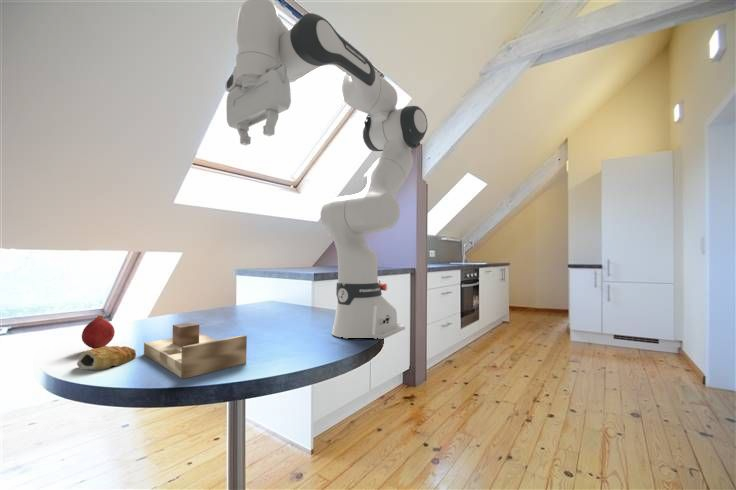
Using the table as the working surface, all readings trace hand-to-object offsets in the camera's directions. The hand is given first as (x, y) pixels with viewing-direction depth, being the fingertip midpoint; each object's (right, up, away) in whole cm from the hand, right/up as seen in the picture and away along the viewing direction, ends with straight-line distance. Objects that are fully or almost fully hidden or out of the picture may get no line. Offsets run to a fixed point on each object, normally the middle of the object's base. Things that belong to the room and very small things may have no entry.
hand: (256, 139), depth 75 cm
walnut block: (-16, -44, +1) cm, 47 cm away
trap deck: (-13, -47, -2) cm, 48 cm away
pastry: (-28, -47, -6) cm, 55 cm away
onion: (-37, -47, +4) cm, 60 cm away
